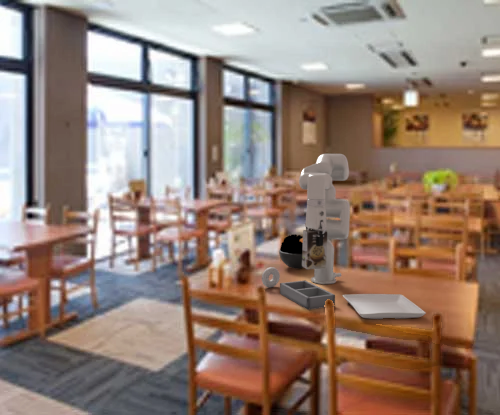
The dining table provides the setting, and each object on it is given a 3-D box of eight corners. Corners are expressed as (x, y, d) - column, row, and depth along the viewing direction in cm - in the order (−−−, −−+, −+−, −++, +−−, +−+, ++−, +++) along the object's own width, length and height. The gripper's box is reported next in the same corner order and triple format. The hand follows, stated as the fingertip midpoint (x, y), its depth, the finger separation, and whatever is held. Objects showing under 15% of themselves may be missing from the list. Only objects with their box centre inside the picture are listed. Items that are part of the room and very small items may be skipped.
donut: (264, 289, 243) (264, 269, 242) (260, 288, 246) (260, 267, 245) (280, 286, 249) (281, 266, 247) (276, 285, 252) (277, 265, 250)
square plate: (426, 321, 202) (427, 312, 201) (359, 322, 200) (359, 313, 199) (401, 301, 229) (401, 292, 228) (341, 301, 227) (341, 293, 226)
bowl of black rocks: (296, 262, 301) (297, 231, 299) (321, 269, 286) (322, 235, 284) (271, 267, 288) (272, 234, 286) (296, 274, 273) (297, 239, 271)
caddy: (279, 293, 237) (280, 283, 236) (304, 290, 242) (305, 280, 242) (307, 309, 214) (307, 298, 213) (334, 306, 219) (335, 294, 218)
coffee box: (307, 269, 216) (307, 232, 214) (301, 266, 222) (302, 229, 220) (326, 268, 219) (327, 231, 217) (320, 265, 225) (321, 229, 223)
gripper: (334, 205, 211) (333, 247, 213) (312, 200, 227) (311, 240, 229) (319, 205, 208) (317, 248, 210) (298, 201, 224) (297, 241, 226)
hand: (314, 243), depth 219 cm, fingers closed on coffee box, 6 cm apart
